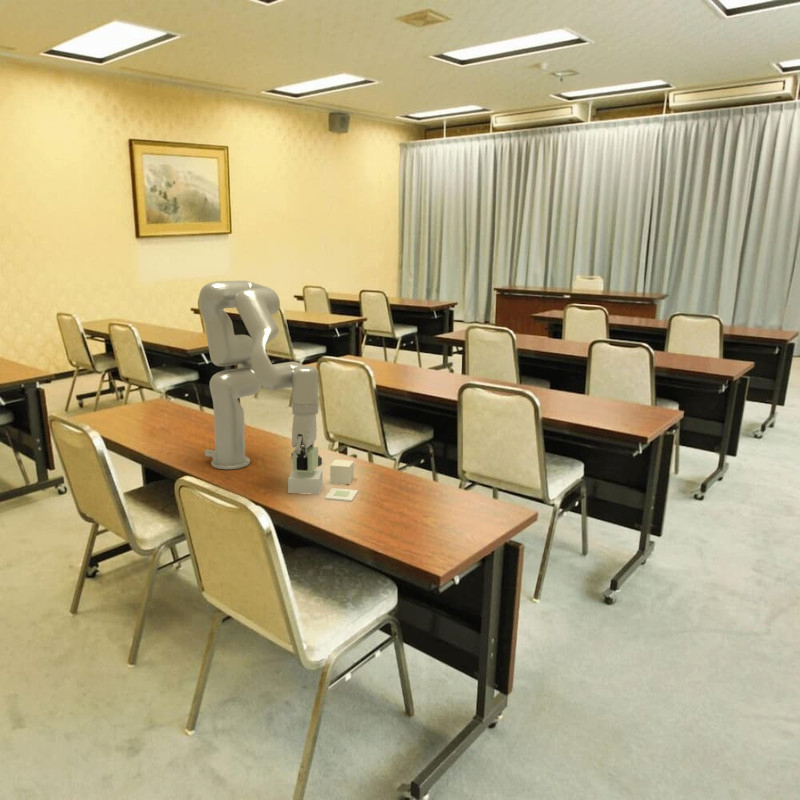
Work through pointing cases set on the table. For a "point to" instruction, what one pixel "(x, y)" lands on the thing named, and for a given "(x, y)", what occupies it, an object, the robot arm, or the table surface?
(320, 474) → the base block
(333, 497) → the card
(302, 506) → the table surface
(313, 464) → the sage cube
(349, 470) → the cream cube
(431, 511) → the table surface
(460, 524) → the table surface
